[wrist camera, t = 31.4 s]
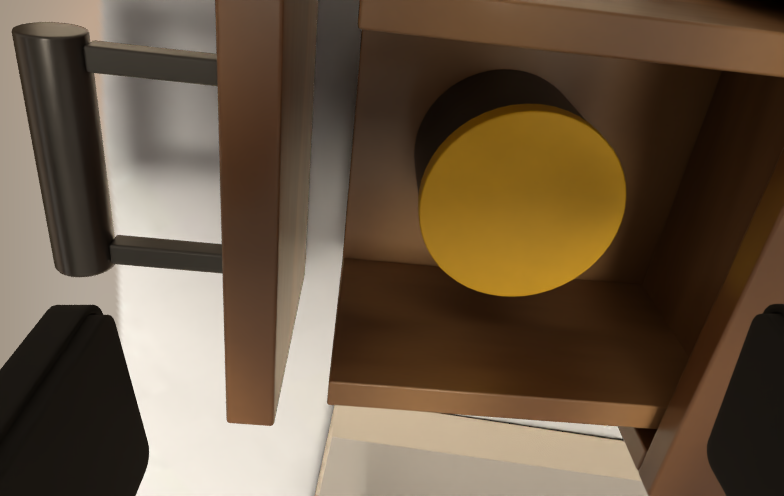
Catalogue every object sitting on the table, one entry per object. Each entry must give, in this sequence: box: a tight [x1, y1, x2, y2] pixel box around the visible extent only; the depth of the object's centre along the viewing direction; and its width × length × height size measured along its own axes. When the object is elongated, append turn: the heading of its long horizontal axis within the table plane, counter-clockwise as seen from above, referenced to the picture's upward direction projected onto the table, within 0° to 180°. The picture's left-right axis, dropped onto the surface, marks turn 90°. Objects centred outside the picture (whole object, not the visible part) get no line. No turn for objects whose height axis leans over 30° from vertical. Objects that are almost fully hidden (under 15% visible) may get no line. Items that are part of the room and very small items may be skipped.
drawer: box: [12, 0, 784, 429], centre depth 16 cm, size 18×11×7 cm, turn 84°
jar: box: [414, 69, 626, 297], centre depth 17 cm, size 5×5×4 cm
